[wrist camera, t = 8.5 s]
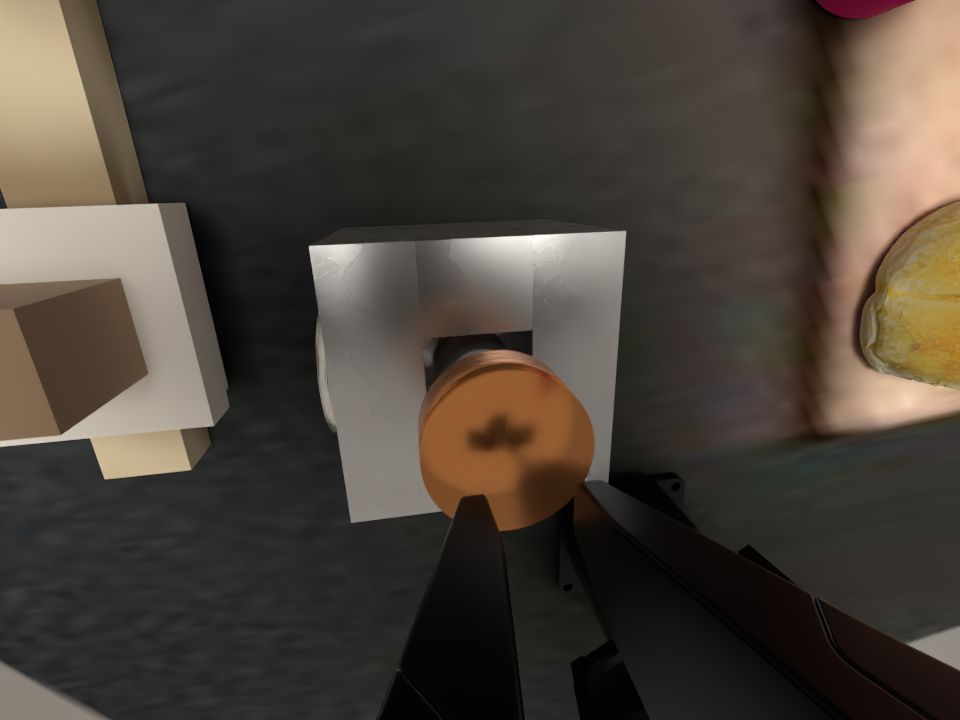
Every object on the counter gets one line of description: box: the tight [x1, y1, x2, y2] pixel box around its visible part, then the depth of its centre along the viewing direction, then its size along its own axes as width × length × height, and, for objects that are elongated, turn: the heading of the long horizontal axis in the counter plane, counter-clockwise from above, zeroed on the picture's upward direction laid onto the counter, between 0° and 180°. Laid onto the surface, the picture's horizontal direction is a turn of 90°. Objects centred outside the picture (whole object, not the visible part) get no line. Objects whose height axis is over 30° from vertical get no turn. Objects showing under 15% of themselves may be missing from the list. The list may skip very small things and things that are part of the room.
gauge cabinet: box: [309, 219, 626, 523], centre depth 16 cm, size 8×8×7 cm
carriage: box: [0, 203, 230, 447], centre depth 13 cm, size 7×7×8 cm
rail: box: [0, 0, 211, 479], centre depth 15 cm, size 19×3×2 cm, turn 2°
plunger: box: [418, 333, 595, 531], centre depth 12 cm, size 4×4×6 cm
